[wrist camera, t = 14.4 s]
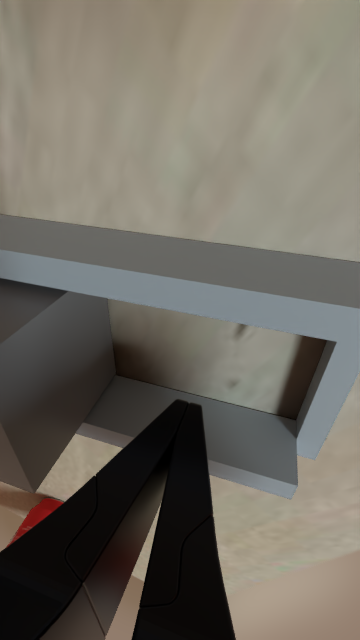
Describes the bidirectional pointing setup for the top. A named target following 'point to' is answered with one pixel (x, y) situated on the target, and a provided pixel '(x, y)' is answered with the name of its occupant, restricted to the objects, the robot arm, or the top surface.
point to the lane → (214, 302)
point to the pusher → (47, 374)
